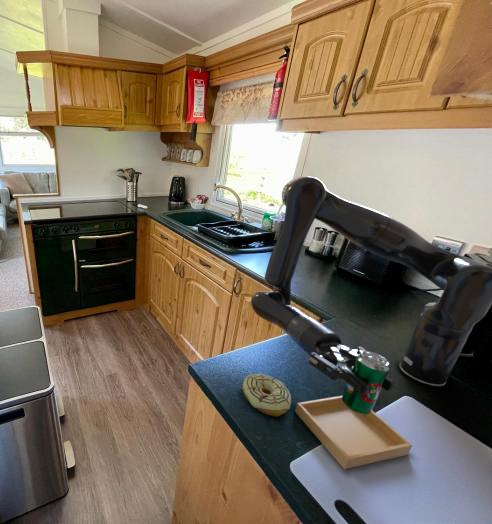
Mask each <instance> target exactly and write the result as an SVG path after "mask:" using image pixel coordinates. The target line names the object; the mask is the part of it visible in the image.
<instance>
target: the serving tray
mask: <svg viewBox="0 0 492 524" xmlns="http://www.w3.org/2000/svg"><path fill="white" fill-rule="evenodd" d="M294 412H295V413H296V415H297V416H298V417H299V418H300V420H302V422H303V423H304V424H305V426H307V428H308V429H309V430H310V431H311V433H312V434H314V436H315V437H316V438H317V439H318V441H319V442H320V443H321V444H322V445H323V446H324V447H325V449H326V450H327V451H328V452H329V453H330V454H331V456H332V457H333V458H334V459H335V460H336V462H338V463H339V465H340V466H341V468H342V469H343V470H347V469H352V468H356V467H361V466H364V465H368V464H369V465H370V464H373V463H377V462H382V461H386V460H390V459H394V458H399V457H403V456H408V455H409V453H410V451H411V449H412V447H413V444H412V443H411V442H409V441H408V440H407V439H406V438H405V437H404V436H403V435H401V434H400V433H399V432H398V431H397V430H396V429H394V428H393V427H392V426H391V425H389V424H388V423H387V422H386V421H385V420H384V419H383V418H382V417H380V416H379V415H378V414H377V413H375V411H374V410H372V412H371V413H369V414H358V413H356V412H353V411H352V410H350V409H349V408H348V407H347V406H346V405H345V404H344V402H343V401H342V395H337V396H330V397H325V398H320V399H319V398H318V399H313V400H306V401H301V402H297V403H296V407H295V410H294Z"/></svg>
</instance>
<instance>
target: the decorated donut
mask: <svg viewBox="0 0 492 524" xmlns="http://www.w3.org/2000/svg"><path fill="white" fill-rule="evenodd" d="M241 387H242V392H243V395H244V397H245V399H246V400H247V401H248V403H249V404H250V405H251V406H252V407H253V408H254V409H256V410H257V411H258V412H260V413H263V414H265V415H267V416H271V417H279V416H282V415H284V414H286V413H287V412H288V410H290V409H291V404H292V396H291V393H290V390H289V389H288V388H287V387H286V385H285V384H284V383H283V382H282V381H280V380H278V379H277V378H275V377H274V376H271V375H268V374H264V373H252V374H248V375H247V376H246V377H245V378H244V380H243V382H242V386H241Z"/></svg>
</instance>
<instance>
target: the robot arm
mask: <svg viewBox="0 0 492 524" xmlns="http://www.w3.org/2000/svg"><path fill="white" fill-rule="evenodd" d="M281 200H282V203H283V204H284V206H285V213H284V219H283V225H282V228H281V230H280V233H279V236H278V238H277V240H276V243H275V245H274V247H273V249H272V251H271V254H270V256H269V259H268V263H267V265H266V270H265V274H264V281H265V283H266V284H267V285H269V286H272V287H273V291H269V290H268V291H265V290H263V291H262V290H261V291H257V292H255V293H254V294H253V295H252V296H251V299H250V305H251V309H252V310H253V312H254V313H255V314H256V315H257V316H258V317H259V318H262V319H263V320H264V321H267V322H269V323H270V324H273V325H274V326H277V327H278V328H280V329H281V330H282V332H284V333H285V334H286V335H288V336H289V338H290V339H291V340H292V341H293V342H294V343H295V344H296V345H297V346H298V347H300V348H301V349H302V350H303V351H304V352H305V353H307V354H308V356H309V359H308V362H307V363H308V364H309V365H311V366H312V367H313V368H315V369H316V370H318V371H319V372H321V373H322V374H324V375H325V376H326V377H327V378H329V379H330V380H332V381H337V380H340V381H342V382H346V384H347V383H348V384H349V385H351V386H352V387H353V388H354V389H355V390H357V391H358V392H360V393H361V394H362V395H365V394H368V391H369V389H370V386H369V385H368V384H367V383H366V382H365V381H363V380H362V379H361V378H360V377H358V376H357V375H356V374H355V373H353V372H351V371H352V369H353V366H354V363H355V361H356V358H357V356H358V355H359V354H361V352H363V351H367V349H365V348H364V347H362V346H358V347H357V349H352V348H351V347H349V346H347V345H345V344H343V342H342V339H341V338H340V336H339V335H338V334H337V333H335V332H334V331H333V330H331V329H330V328H328V327H327V326H326V325H324V324H323V323H321V322H320V321H318V319H315V318H314V317H311V316H309V315H308V314H307V313H305V311H303V310H301V309H300V308H298V307H296V306H294V305H291V303H292V281H293V278H294V274H295V271H296V269H297V265H298V262H299V258H300V255H301V253H302V249H303V248H304V247H303V246H304V244H305V241H306V239H307V236H308V234H309V232H310V229H311V227H312V226H313V223H314V221H315V220H316V221H319V222H321V223H323V224H324V225H326V226H328V227H329V228H330V229H332V230H333V231H334V232H336V233H337V234H339V235H341V236H342V237H344V238H345V239H347V240H348V241H349V242H351V243H353V244H355V245H356V246H357V247H359V248H362V249H364V250H366V251H367V252H369V253H372V254H373V255H375V256H377V257H380V258H382V259H385V260H388V261H391V262H394V263H396V264H397V263H398V264H400V265H403V266H406V267H408V268H409V269H412V270H413V271H415V272H416V273H418V274H420V275H421V276H422V277H424V278H425V279H427V280H428V281H430V282H431V283H432V284H434V285H435V286H436V287H438V288H439V289H440V290H442V294H441V295H440V297H439V299H438V301H437V302H429V303H426V304H425V305H424V307H423V308H422V311H421V314H420V316H419V318H418V321H417V323H416V325H415V328H414V331H413V332H412V335H411V337H410V340H409V341H408V344H407V347H406V349H405V351H404V354H403V356H402V358H401V361H400V362H399V365H398V369H399V371H401V373H402V374H404V375H405V376H407V377H408V378H409V379H411V380H413V381H415V382H417V383H419V384H422V385H425V386H428V387H432V388H443V387H444V386H445V385H446V384H447V380H448V378H449V376H450V374H451V373H452V371H453V368H454V366H455V364H456V362H457V360H458V358H459V357H461V358H475V357H474V355H473V353H474V351H473V352H472V353H461V352H462V350H463V349H464V346H465V344H466V342H467V341H468V338H469V336H470V334H471V332H472V330H473V328H474V326H475V324H477V323H478V322H480V321H481V320H482V319H483V318H484V317H485V316H486V315H487V313H488V311H489V310H490V308H491V306H492V267H491V266H489V265H487V264H484V263H482V262H480V261H477V260H475V259H472V258H470V257H467V256H464V255H460V254H458V253H455V252H453V251H451V250H447V249H445V248H442V247H440V246H437V245H435V244H433V243H431V242H429V241H428V240H426V239H425V238H424V237H423V236H422V235H421V234H419V233H418V232H416V231H415V230H413V229H412V228H411V227H409V226H408V225H406V224H404V223H403V222H400V221H399V220H398V219H397V220H396V219H394V218H393V217H390V216H388V215H387V214H384V213H382V212H380V211H378V210H375V209H372V208H369V207H366V206H365V205H361V204H358V203H354V202H351V201H348V200H346V199H344V198H341V197H339V196H338V195H336V194H334V193H333V192H330V191H329V190H328V189H327V188H326V185H325V184H324V183H323V181H322V180H320V179H319V178H317V177H314V176H298V177H295V178H293V179H291V180H289V181H288V182H287V183H286V184H285V185H284V186H283V188H282V191H281ZM328 369H330V370H331V371H330V370H328ZM394 386H395V382H394V381H393V380H392V379H391V378H390V377H388V376H387V377H386V379H385V381H384V384H383V386H382V388H381V389H383V390H385V391H387V392H390V391H392V390H393V389H394Z"/></svg>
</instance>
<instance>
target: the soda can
mask: <svg viewBox="0 0 492 524" xmlns="http://www.w3.org/2000/svg"><path fill="white" fill-rule="evenodd" d="M351 372H353V373H355V374H356V375H357V376H358V377H360V378H361V379H362V380H363V381H365V382H366V383H367V384H368V385H369V386H370V389H369V391H368V394H365V395H362V394H361V393H360V392H358V391H357V390H355V389H354V388H353V387H352V386H351V385H349V384H348V383H347V382H346V385H345V388H344V390H343V393H342V395H341V396H342V401H343V402H344V404H345V405H346V406H347V407H348V408H349V409H350V410H352V411H353V412H356V413H358V414H369V413H371V412H372V411H373V409H374V407H375V405H376V402H377V400H378V397H379V395H380V394H381V390H382V389H383V388H382V386H383V384H384V381H385V379H386V377H388V374H389V372H390V361H389V360H388V359H387V358H386V357H384V356H382V355H381V354H378V353H377V352H373V351H369V350H366V351H363V352H361V354H359V355H358V356H357V358H356V361H355V363H354V366H353V369H352V370H350V373H351Z"/></svg>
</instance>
